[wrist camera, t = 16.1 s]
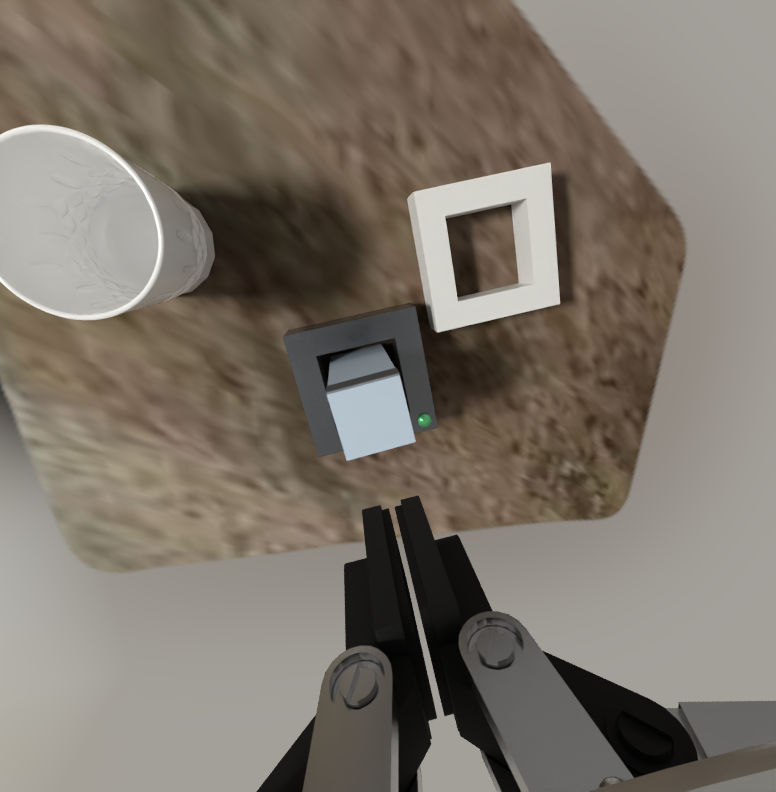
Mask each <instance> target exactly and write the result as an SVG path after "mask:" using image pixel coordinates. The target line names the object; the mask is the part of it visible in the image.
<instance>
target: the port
mask: <svg viewBox="0 0 776 792" xmlns="http://www.w3.org/2000/svg"><path fill="white" fill-rule="evenodd" d="M388 339H391V340H392V345H393V349H394V354H395V359H396V364H397V368H398V371H399V373H400V377H401V381H402V386H403V390H404V394H405V398H406V402H407V406H408V410H409V415H410V419H411V423H412V427H413V431H414V434H415V433H419V432H423V431H427V430H431V429H436V428H438V426H437V420H436V415H435V409H434V404H433V399H432V393H431V388H430V382H429V377H428V372H427V366H426V361H425V355H424V350H423V345H422V339H421V334H420V328H419V323H418V317H417V312H416V307H415V306H414V305H411V304H409V303H407V304H402V305H398V306H393V307H389V308H385V309H380V310H376V311H372V312H367V313H363V314H358V315H354V316H350V317H345V318H341V319H336V320H332V321H328V322H323V323H319V324H315V325H310V326H306V327H301V328H297V329H293V330H288V331H287V332H286V333H285V335H284V336H283V340H284V343H285V346H286V350H287V353H288V356H289V360H290V363H291V367H292V370H293V373H294V377H295V380H296V383H297V387H298V390H299V393H300V397H301V400H302V403H303V407H304V410H305V413H306V417H307V420H308V424H309V427H310V430H311V434H312V437H313V440H314V444H315V447H316V450H317V454H318V457H321V456H325V455H329V454H333V453H338V452H342V451H344V450H343V447H342V443H341V440H340V437H339V434H338V431H337V427H336V424H335V421H334V418H333V414H332V411H331V408H330V405H329V401H328V398H327V395H326V386H328V383H327V379H326V375H325V372H324V368H323V364H322V361H321V357H320V355H324V354H328V353H333V352H337V351H341V350H345V349H350V348H354V347H358V346H363V345H367V344H371V343H376V342H380V341H384V340H388Z"/></svg>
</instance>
